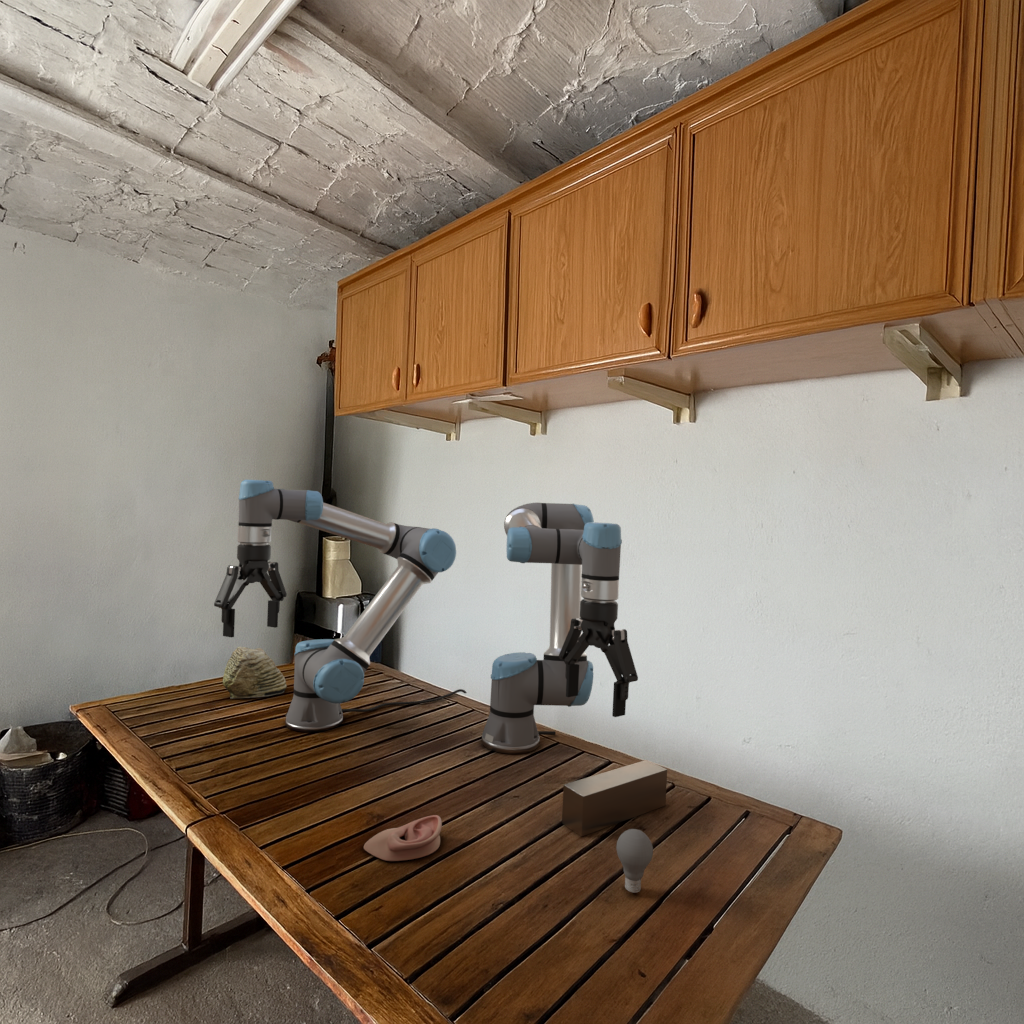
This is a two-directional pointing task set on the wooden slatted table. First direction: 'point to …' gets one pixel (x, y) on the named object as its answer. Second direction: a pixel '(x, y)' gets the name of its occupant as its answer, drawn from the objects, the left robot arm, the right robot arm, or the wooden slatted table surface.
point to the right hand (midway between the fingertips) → (594, 705)
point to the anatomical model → (407, 840)
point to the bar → (613, 797)
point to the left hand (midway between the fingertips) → (251, 631)
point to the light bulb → (634, 857)
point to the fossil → (252, 674)
